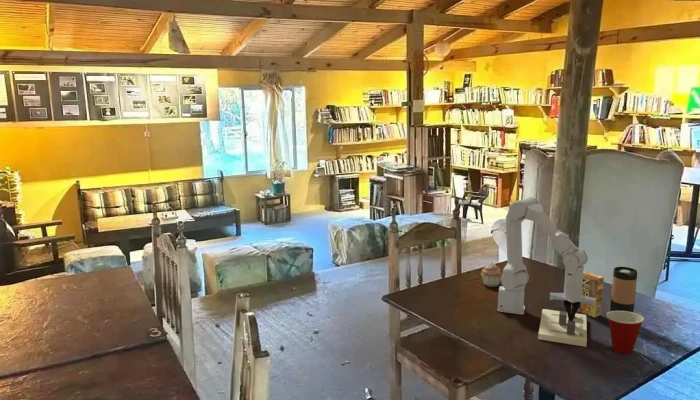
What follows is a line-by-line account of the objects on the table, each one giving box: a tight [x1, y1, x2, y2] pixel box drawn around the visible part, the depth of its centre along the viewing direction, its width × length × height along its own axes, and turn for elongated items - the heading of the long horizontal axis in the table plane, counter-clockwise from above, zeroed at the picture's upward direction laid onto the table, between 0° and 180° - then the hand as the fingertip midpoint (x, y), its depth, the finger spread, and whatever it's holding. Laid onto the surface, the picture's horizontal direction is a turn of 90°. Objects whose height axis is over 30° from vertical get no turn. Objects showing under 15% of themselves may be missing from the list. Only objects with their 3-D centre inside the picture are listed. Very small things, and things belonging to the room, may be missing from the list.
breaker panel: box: [537, 308, 588, 348], centre depth 187 cm, size 15×22×2 cm
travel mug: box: [609, 266, 638, 313], centre depth 189 cm, size 8×8×20 cm
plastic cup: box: [605, 311, 645, 355], centre depth 171 cm, size 11×11×12 cm
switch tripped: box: [559, 310, 567, 325], centre depth 186 cm, size 2×3×4 cm
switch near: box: [567, 320, 575, 335], centre depth 179 cm, size 2×3×4 cm
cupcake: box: [480, 262, 503, 288], centre depth 229 cm, size 9×9×10 cm
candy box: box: [577, 270, 605, 318], centre depth 198 cm, size 9×4×15 cm, turn 33°
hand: (570, 321), depth 185 cm, fingers closed
